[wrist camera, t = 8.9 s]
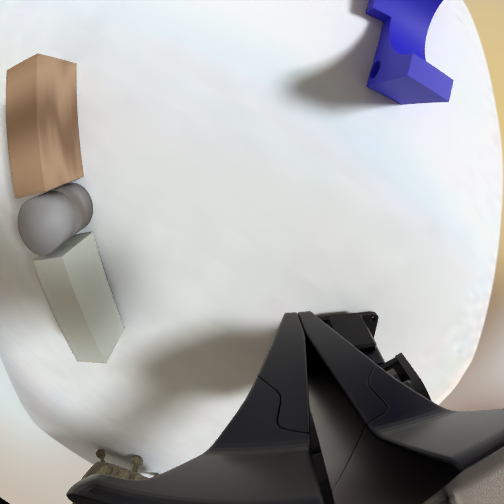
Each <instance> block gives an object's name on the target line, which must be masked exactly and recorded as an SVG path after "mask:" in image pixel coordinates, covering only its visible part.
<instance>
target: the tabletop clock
mask: <svg viewBox="0 0 504 504" xmlns="http://www.w3.org/2000/svg"><path fill="white" fill-rule="evenodd" d="M96 455H97V457H98V458H100V459H101V462H97V463H95V464H94V465H93V466H92V467H91V468H90V469H89V470H88V472H87V473H86V474H85V475H84V476H83V478H82V479H84V478H86V477H88V476H90V475H93V474H104V475H109V476H114V477H118V478H122V479H129V480H142V479H149V478H147V477H145V476H142V475H140V474H138V473H137V468H138V465H141V464H142V462H143V460H142V458H141V457H140V456H135V457H133V462H134V464H135V465H134V467H133V469H132V471H130V470H127V469H124V468H121V467H119V466H116V465H113V464H109V463H105V461H104V457H105V453H104V452H103V451H102V450H98V451H97V452H96ZM158 475H159V474H156V475H154V477H155V476H158ZM82 479H81V480H82ZM73 504H75V503H73Z"/></svg>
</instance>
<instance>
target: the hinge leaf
mask: <svg viewBox="0 0 504 504" xmlns="http://www.w3.org/2000/svg"><path fill="white" fill-rule="evenodd" d="M75 227H76V214H75V210H74V207H73V205H72V203H71V201H70V200H69V199H68V197H67V196H65V195H64V194H63V193H61V192H59V191H49V192H46V193H44V194H42V195H39V196H37V197H35V198H33V199H30V200H28V201H26V202H25V203H24V204H23V205H22V207H21V208H20V211H19V214H18V228H19V232H20V235H21V238H22V240H23V242H24V243H25V245H26V246H27V247H28V248H29V249H30V250H31V251H32V252H34V253H36V254H39V256H38V257H37V258H36V259H34V260H33V261H32V262H33V265H34V268H35V270H36V273H37V276H38V278H39V281H40V284H41V286H42V289H43V291H44V294H45V296H46V298H47V301H48V303H49V305H50V308H51V310H52V312H53V314H54V317H55V319H56V321H57V323H58V325H59V327H60V329H61V331H62V333H63V335H64V337H65V339H66V341H67V343H68V345H69V347H70V349H71V351H72V353H73V354H74V356H75V358H76V360H77V361H80V362H93V363H107V361H108V359H109V357H110V355H111V353H112V351H113V349H114V347H115V345H116V343H117V341H118V339H119V338H120V336H121V334H122V332H123V330H124V328H125V327H124V325H123V322H122V320H121V317H120V315H119V312H118V309H117V307H116V304H115V301H114V298H113V295H112V293H111V290H110V287H109V284H108V281H107V278H106V275H105V272H104V268H103V265H102V262H101V259H100V255H99V252H98V248H97V245H96V241H95V238H94V234H93V232H89V233H83V234H77V235H73V233H74V231H75ZM72 235H73V236H72ZM71 236H72V237H71ZM70 237H71V238H70Z"/></svg>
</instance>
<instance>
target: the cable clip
mask: <svg viewBox="0 0 504 504" xmlns="http://www.w3.org/2000/svg"><path fill="white" fill-rule="evenodd" d="M442 1H443V0H369V3H368V7H367V10H366V14H368V15H370V16H373V17H375V18H377V19H379V20H381V21H382V22H384V24H383V28H382V31H381V35H380V39H379V43H378V47H377V50H376V54H375V58H374V61H373V65H372V68H371V72H370V75H369V79H368V82H367V85H366V87H368V88H370V89H372V90H374V91H376V92H378V93H380V94H382V95H384V96H386V97H388V98H390V99H392V100H394V101H396V102H397V103H399V104H401V105H403V104H415V103H432V102H449V98H450V94H451V89H452V85H453V80H452V79H451V78H449V77H448V76H447V75H445V74H444V73H442V72H441V71H440V70H438V69H437V68H435V67H434V66H432V65H431V64H429V63H428V62H426V59H425V40H426V35H427V31H428V28H429V25H430V22H431V20H432V18H433V15H434V13H435V12H436V10H437V8H438V7H439V5H440V4H441V2H442Z"/></svg>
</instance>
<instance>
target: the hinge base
mask: <svg viewBox="0 0 504 504" xmlns="http://www.w3.org/2000/svg"><path fill="white" fill-rule="evenodd" d="M6 123H7V139H8V150H9V159H10V167H11V175H12V181H13V187H14V193H15V198H20V197H24V196H28V195H32V194H37V193H41V192H45V191H48V190H50V189H53V188H55V187H58V186H60V185H63V184H65V183H68V182H70V181H73V180H75V179H78V178H81V177H83V176H84V175H83V168H82V160H81V151H80V142H79V130H78V116H77V94H76V63H72V62H69V61H65V60H61V59H57V58H54V57H50V56H46V55H41V54H36V55H34V56H32V57H30V58H28V59H26V60H24V61H23V62H21V63H19V64H17V65H15V66H14V67H12V68H10V69H9V70H7V77H6ZM51 191H59V192H61V193H63V194H64V195H65V196H67V197H68V199H69V200H70V201H71V203H72V205H73V207H74V210H75V214H76V227H75V231H74V233H73V235H75V234H76V233H77V232H79V231H80V230H82V229H83V228H84V227H86V226H87V225H88V224H89V222H90V220H91V218H92V214H93V204H92V200H91V197H90V195H89V193H88V192H87V191H86V189H85V188H84V187H82V186H81V185H79V184H76V183H68V184H65V185H63V186H60V187H58V188H56V189H53V190H51ZM73 235H72V236H73ZM72 236H71V237H72ZM71 237H70V238H71Z"/></svg>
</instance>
